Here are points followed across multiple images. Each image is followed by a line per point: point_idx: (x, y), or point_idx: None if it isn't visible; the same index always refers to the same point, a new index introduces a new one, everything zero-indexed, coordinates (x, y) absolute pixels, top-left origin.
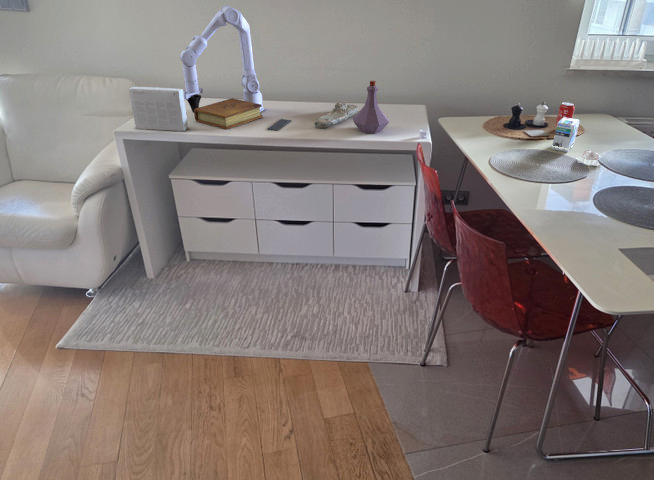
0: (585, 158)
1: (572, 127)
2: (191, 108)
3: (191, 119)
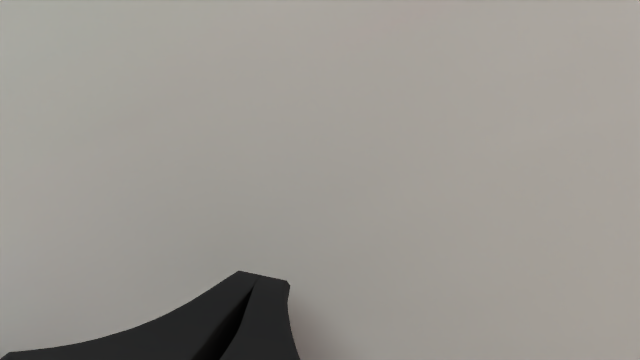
0: None
1: None
2: (202, 300)
3: (69, 270)
